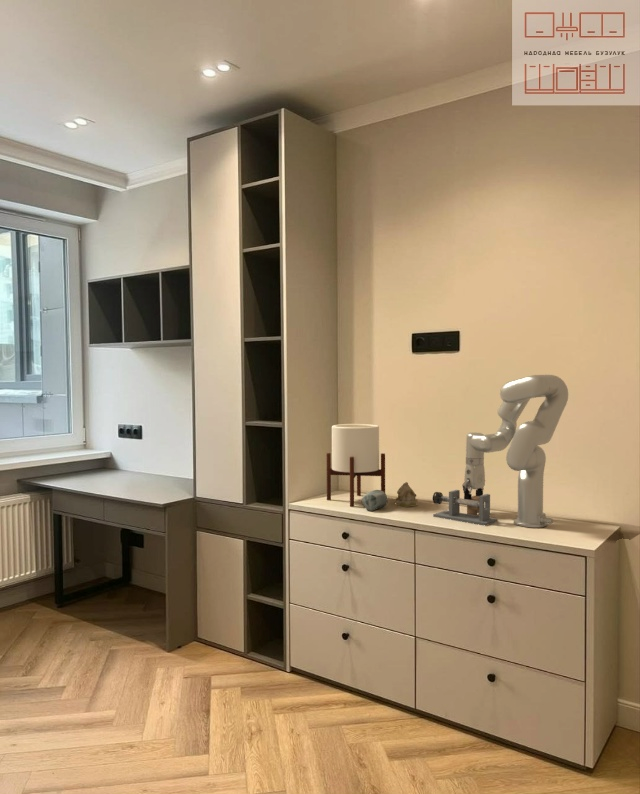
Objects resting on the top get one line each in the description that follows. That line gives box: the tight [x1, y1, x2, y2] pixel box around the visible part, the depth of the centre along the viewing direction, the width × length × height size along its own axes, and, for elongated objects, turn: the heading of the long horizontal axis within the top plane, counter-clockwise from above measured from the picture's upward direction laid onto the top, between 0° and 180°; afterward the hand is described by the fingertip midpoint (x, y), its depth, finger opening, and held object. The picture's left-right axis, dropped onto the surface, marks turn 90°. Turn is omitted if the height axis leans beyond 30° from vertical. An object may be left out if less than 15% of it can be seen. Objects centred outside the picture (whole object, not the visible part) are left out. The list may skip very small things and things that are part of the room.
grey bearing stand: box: [432, 489, 498, 527], centre depth 255 cm, size 24×10×11 cm, turn 47°
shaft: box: [432, 491, 479, 507], centre depth 258 cm, size 20×5×5 cm, turn 47°
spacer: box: [466, 495, 479, 516], centre depth 266 cm, size 4×7×7 cm, turn 137°
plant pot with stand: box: [326, 423, 386, 508], centre depth 294 cm, size 22×22×36 cm
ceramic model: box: [393, 481, 418, 508], centre depth 287 cm, size 14×11×10 cm
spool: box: [361, 489, 388, 512], centre depth 276 cm, size 14×10×10 cm
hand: (473, 501), depth 266 cm, fingers open, 9 cm apart
